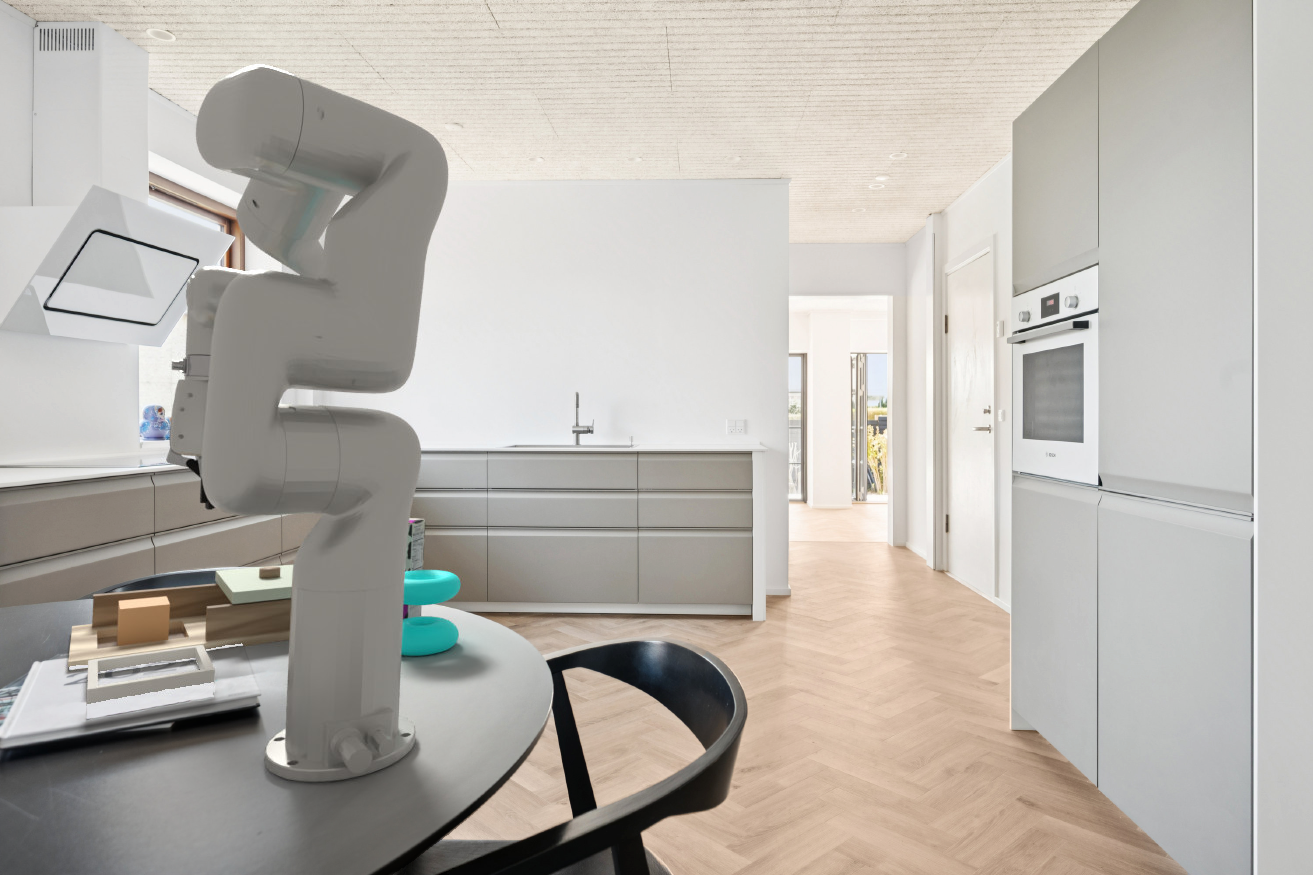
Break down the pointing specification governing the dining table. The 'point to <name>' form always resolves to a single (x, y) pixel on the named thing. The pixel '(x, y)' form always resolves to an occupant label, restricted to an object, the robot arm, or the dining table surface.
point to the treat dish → (152, 683)
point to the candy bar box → (414, 558)
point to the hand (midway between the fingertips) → (213, 508)
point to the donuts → (426, 630)
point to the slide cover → (256, 583)
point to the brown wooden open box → (183, 622)
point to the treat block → (143, 620)
